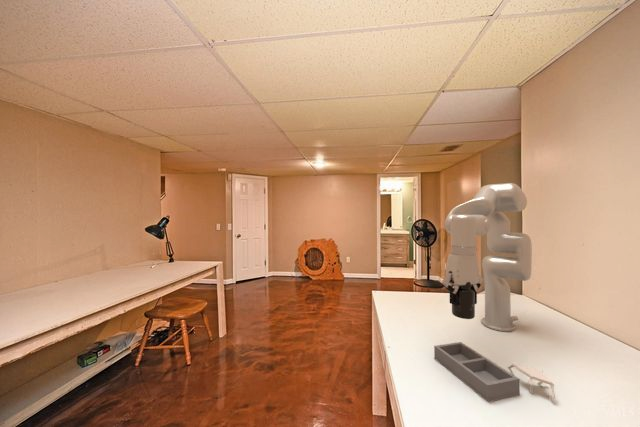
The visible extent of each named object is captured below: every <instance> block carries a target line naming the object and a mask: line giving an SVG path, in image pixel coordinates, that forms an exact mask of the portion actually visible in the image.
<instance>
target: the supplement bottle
mask: <svg viewBox="0 0 640 427" xmlns="http://www.w3.org/2000/svg"><path fill="white" fill-rule="evenodd" d="M471 287H472V285H471V283H470V282H467V283H466V285H463V286H459V288H458V290H457V294H458V306H455V305H453V304H451V314H452V315H453V316H455V317H457V318H459V319H464V320H472V319H473V320H474V319H475V317H476V313H475V312H476V311H475V310H476V308H475V306H476V304H475V292H474V290H472V289H471ZM453 289H454V287H453Z"/></svg>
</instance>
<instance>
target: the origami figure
mask: <svg viewBox="0 0 640 427" xmlns="http://www.w3.org/2000/svg"><path fill="white" fill-rule="evenodd" d="M507 368H508V370H509V373H511V374H513V375H514V376H516V375H515V373H514V371H513V370H512V368H515V369H516V370H517V371H519V372H520V373H522V374H523V375H525V376H527V377H529V380H528V388H529V393H530V394H532V395H533V394H534V391H533V386H532V385H533V384H532V383H533V382H534V380H535V381H537V383H536V385H537V386H539V387H542V388H546V387H545V386H544V385H542V384H547V385H549V386H550V389H551V393H552V394H551V395H552V396H551V395H550V396H549V395H548V399H549V402H551V403H553V400H552V399H556V392H555V387H554V386H555V385H554V382H553V381H552V380H551V379H549V378H548V376H546V374H544V371H543V370H539V369H536V368H532V367H529V366H526V365H525V366H524V365H521V364H518V363H515V362H513V363H511V364H510V365H509V366H507Z"/></svg>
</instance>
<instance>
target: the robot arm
mask: <svg viewBox="0 0 640 427" xmlns="http://www.w3.org/2000/svg"><path fill="white" fill-rule="evenodd" d="M527 204H528V200H527V196H526V194H525V193H524V191H523V190H522V188H521V187H520V186H519V185H518V184H516V183H515V182H514V183H512V182H507V183H506V182H505V183H493V184H486V185H483V186H482V187H480V188H479V189H478V190H477V193H476V194H475V195H474V196H473V199H471V200H468V201H466V202H464V203H462V204H459V205H456V206H455V207H453V208H452V209H451V210H450V212H449V213H448V214H447V216H446V217H445V220H444V229H445V231H446V232H447V233H448V234H450V254H448V256H447V261H446V267H445V268H446V270H445V277H444V278H443V279H442V280H441V283H442V284H443V286H444V287H445V289H447V291H448V293H449V303H450V304H451V305H452V304H453V305H455V306H458V294H457V290H458V288H459V286H463V285H466V283H467V282H470V283H471V285H472V287H471V289H472V290H474V292H475V305H477V303H478V296H477V295H478V293H479V289H480V287H481V286H482V283H484V317H482V318H481V319H480V323H481V325H483V326H484V327H487V328H489V329H491V330H495V331H500V332H513V331H515V330H516V325H515V324H513V322H515V321H519V318H518V316H517V315H513V316H511V314H512V313H511V287H510V284H509V283H508V282H507V280H506V279H508V280H514V281H523V282H526V281H528V280H530V279H531V275H532V239H531V237H530V235H528V234H526V233H524V232H511V220H510V218H508V216H507V215H506V214H505V213H507V212H508V213H509V212H513V213H515V212H522V211H525V209H526V207H527ZM504 212H505V213H504ZM485 235H486V244H487V247H486V248H487V249H488V250H489V251H490V252H493V253H500V254H507V255H508V254H510V255H515V256H517V257H512V256H505V255H496V254H495V255H494V254H493V255H492V254H491V255H486V256H485V257H483V259H482V261H481V263H482V271H483V272H482V273H483V277H484V278H483V277H482V276H481V275H480V266H479V259H478V256H477V251H478V248H477V237H478V236H479V237H480V236H481V237H482V236H485ZM453 288H454V289H453Z"/></svg>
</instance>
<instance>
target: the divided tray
mask: <svg viewBox="0 0 640 427" xmlns="http://www.w3.org/2000/svg"><path fill="white" fill-rule="evenodd" d="M434 360H435V361H436V362H438V363H439V364H440V365H441V366H443V367H444V368H445V369H446V370H448V371H449V372H450V373H452V374H453V375H454V376H455V377H456V378H457V379H459V380H460V381H461V382H463V384H465V385H466V386H467V387H468V388H469V389H471V390H472V391H473V392H475V394H477V395H478V396H480V398H482V399H483V400H484V401H486V402H487V403H490V402H495V401H500V400H503V399H507V398H512V397H515V396H520V395H521V394H520V393H521V392H520V391H521V390H520V389H521V388H520V387H521V386H520V385H521V384H520V379H521V378H520V377H517V376H516V375H515V374H514V375H515V376H514V375H513V374H512V373H511V372H510V371H508V370H506V369H505V368H503V367H502V366H500V365H498V364H497V363H496V362H493V361H492V360H490V359H488V358H487V357H485V356H484V355H482V354H481V353H479V352H477V351H476V350H474V349H473V348H471V347H469V346H468V345H466V344H465V343H463V342H461V341H459V342H451V343H445V344H438V345H434Z"/></svg>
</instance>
